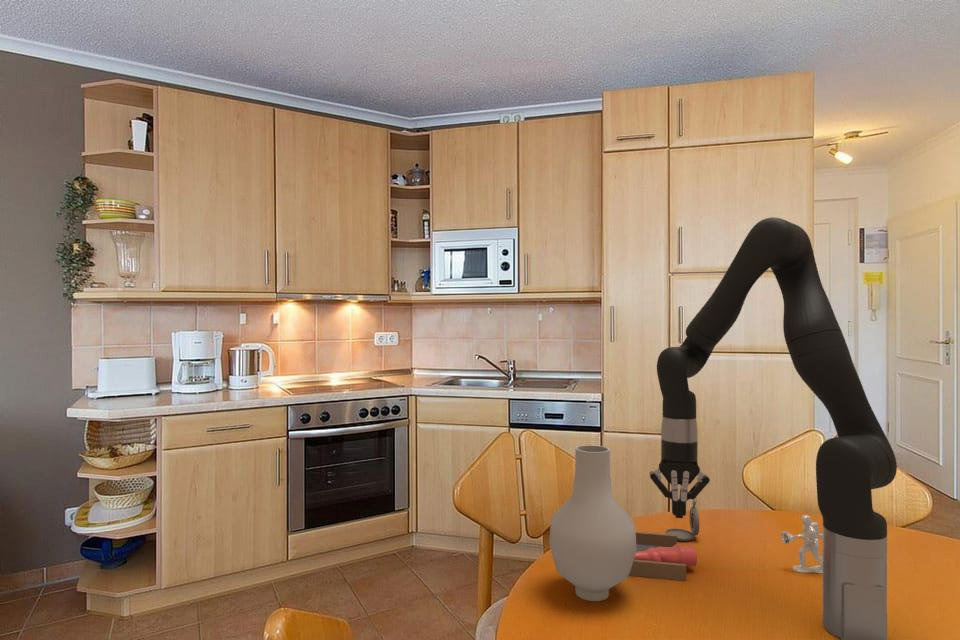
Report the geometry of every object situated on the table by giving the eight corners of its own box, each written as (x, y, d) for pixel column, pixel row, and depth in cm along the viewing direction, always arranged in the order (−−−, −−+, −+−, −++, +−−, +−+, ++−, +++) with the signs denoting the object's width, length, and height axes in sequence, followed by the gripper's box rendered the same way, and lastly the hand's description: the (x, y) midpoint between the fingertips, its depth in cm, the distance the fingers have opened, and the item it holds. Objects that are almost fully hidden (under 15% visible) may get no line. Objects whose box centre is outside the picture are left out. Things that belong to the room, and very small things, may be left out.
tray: (686, 580, 119) (686, 566, 119) (596, 572, 123) (596, 557, 123) (676, 547, 136) (676, 534, 136) (598, 540, 140) (598, 528, 140)
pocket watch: (659, 535, 144) (659, 494, 144) (685, 530, 148) (685, 490, 148) (683, 546, 137) (683, 503, 137) (710, 541, 140) (710, 499, 141)
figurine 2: (687, 561, 127) (619, 562, 126) (688, 539, 127) (620, 539, 126) (697, 574, 122) (626, 574, 121) (698, 550, 121) (627, 551, 121)
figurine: (834, 574, 122) (834, 517, 122) (794, 577, 121) (794, 519, 121) (817, 565, 127) (817, 509, 127) (779, 567, 125) (779, 511, 125)
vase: (636, 580, 119) (637, 442, 119) (636, 620, 103) (636, 461, 103) (555, 570, 123) (555, 438, 123) (542, 607, 107) (542, 455, 107)
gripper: (648, 439, 125) (648, 520, 125) (714, 442, 123) (713, 525, 122) (646, 433, 133) (646, 509, 133) (708, 436, 130) (708, 514, 130)
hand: (678, 517), depth 128 cm, fingers closed
